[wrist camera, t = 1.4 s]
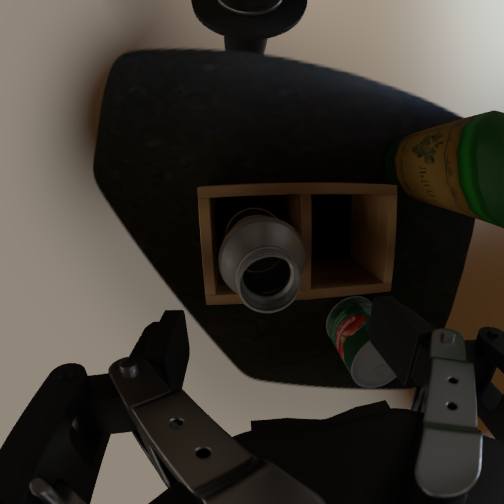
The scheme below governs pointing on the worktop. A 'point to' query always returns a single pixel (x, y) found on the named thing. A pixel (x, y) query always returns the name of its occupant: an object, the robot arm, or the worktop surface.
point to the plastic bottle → (261, 258)
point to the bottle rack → (300, 217)
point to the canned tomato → (357, 342)
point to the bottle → (453, 166)
